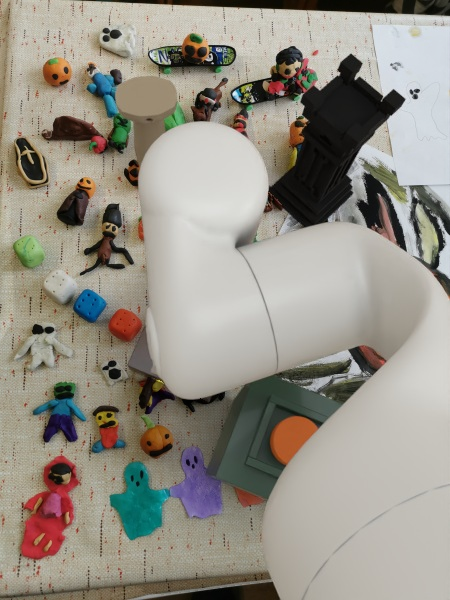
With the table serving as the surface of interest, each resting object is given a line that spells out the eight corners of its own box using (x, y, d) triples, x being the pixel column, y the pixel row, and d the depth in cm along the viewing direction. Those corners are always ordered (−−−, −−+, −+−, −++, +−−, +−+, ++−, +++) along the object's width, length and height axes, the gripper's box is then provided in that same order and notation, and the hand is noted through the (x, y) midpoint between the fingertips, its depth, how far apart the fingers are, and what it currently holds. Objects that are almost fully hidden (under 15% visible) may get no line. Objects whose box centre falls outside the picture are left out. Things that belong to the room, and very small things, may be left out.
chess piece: (266, 192, 73) (296, 94, 54) (307, 155, 75) (350, 48, 56) (311, 233, 71) (358, 148, 52) (351, 195, 73) (411, 99, 54)
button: (308, 474, 41) (312, 474, 40) (263, 456, 42) (266, 455, 40) (323, 428, 43) (328, 427, 41) (279, 410, 43) (283, 408, 41)
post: (280, 506, 62) (330, 525, 41) (204, 474, 62) (216, 477, 41) (306, 428, 64) (366, 409, 43) (233, 398, 65) (258, 365, 44)
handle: (126, 155, 73) (113, 78, 58) (175, 151, 73) (174, 74, 59) (130, 188, 71) (117, 118, 57) (180, 183, 72) (179, 113, 58)
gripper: (200, 375, 39) (194, 401, 56) (283, 175, 44) (255, 252, 61) (102, 335, 40) (125, 372, 56) (196, 140, 45) (191, 227, 61)
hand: (192, 310), depth 58 cm, fingers open, 9 cm apart
